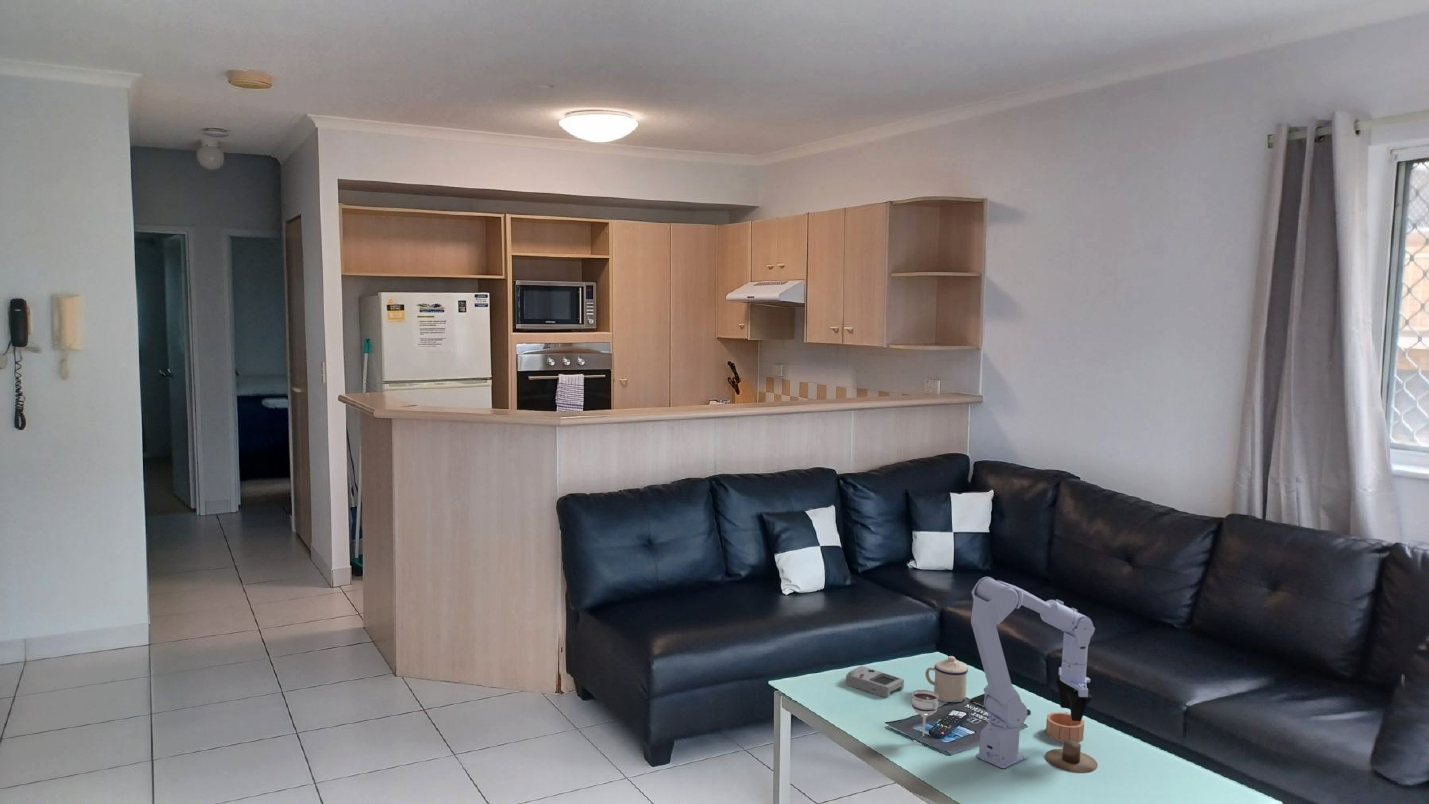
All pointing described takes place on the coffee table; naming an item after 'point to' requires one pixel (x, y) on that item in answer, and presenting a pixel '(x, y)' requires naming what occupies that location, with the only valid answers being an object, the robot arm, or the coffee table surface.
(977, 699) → the phone
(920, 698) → the wineglass
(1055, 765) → the walnut lid
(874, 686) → the handheld gaming device
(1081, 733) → the terracotta bowl
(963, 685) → the teacup with lid
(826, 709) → the coffee table surface
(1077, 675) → the robot arm
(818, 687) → the coffee table surface
